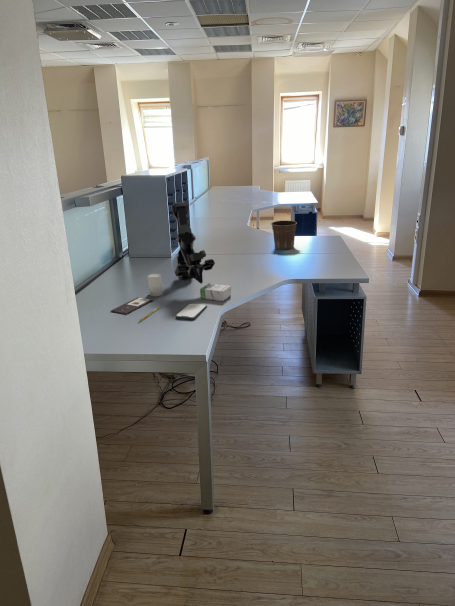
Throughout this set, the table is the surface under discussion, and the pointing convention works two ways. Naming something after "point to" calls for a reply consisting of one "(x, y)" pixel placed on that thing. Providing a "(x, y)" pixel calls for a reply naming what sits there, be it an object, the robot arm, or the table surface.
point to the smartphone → (191, 312)
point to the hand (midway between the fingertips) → (201, 283)
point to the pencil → (149, 314)
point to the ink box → (215, 292)
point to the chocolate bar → (131, 306)
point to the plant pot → (284, 234)
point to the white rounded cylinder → (155, 284)
